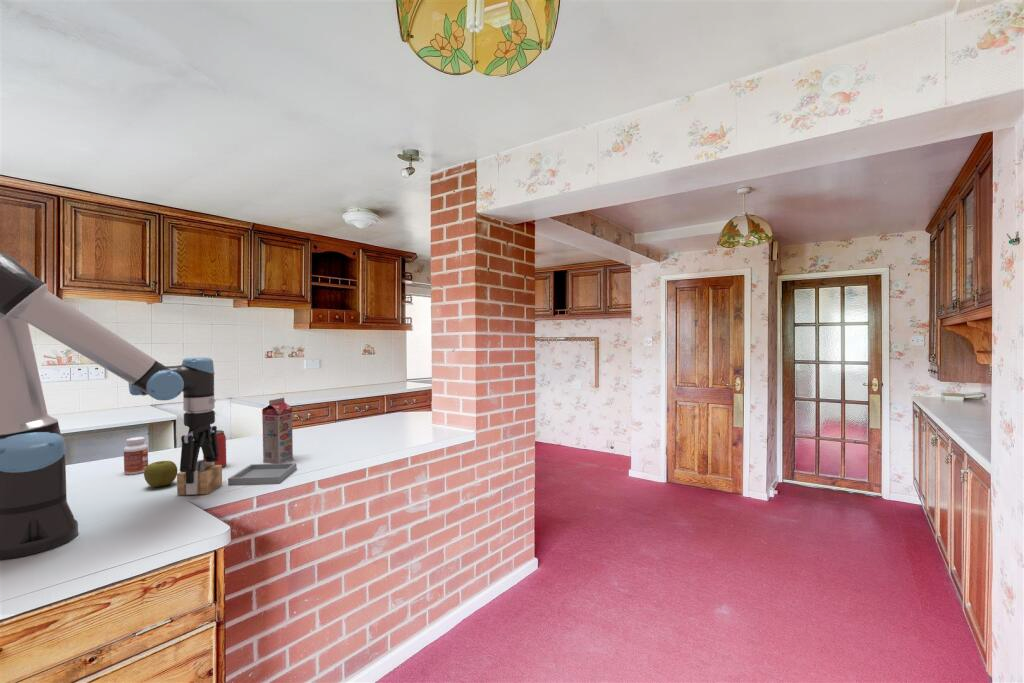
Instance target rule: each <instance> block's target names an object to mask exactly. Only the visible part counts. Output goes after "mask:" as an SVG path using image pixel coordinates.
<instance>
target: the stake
mask: <svg viewBox="0 0 1024 683" xmlns="http://www.w3.org/2000/svg"><path fill="white" fill-rule="evenodd" d="M205 470H206V465H205V460H203V459H200V460H199V459H198V460H197V464H196V471H205Z"/></svg>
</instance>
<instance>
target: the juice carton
mask: <svg viewBox="0 0 1024 683" xmlns="http://www.w3.org/2000/svg"><path fill="white" fill-rule="evenodd" d="M285 401H286V400H285V397H280V398H275V399H269V401H268V402H269V404H268V405H267V406H266V407H264V408H263V409H261V413H262V414H261V416H262V417H261V418H262V419H261V421H262V462H263V463H262V464H282V463H286V462H288V461H292V460H293V457H294V451H293V449H294V448H293V446H294V445H293V408H292V406H291V405H289V404H288V403H286V402H285Z"/></svg>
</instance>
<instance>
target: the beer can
mask: <svg viewBox="0 0 1024 683" xmlns="http://www.w3.org/2000/svg"><path fill="white" fill-rule="evenodd" d="M216 435H217V444H218V452H219V456H218V457H216V458H218V461H214V465H222V468H224V467H226V466H227V437H226V434H225V431H224V430H220V429H219V430H217V431H216ZM202 455H203V454H202ZM202 458H203V459H202V460H205V458H204V455H203V456H202ZM205 462H207V461H205Z"/></svg>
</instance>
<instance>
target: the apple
mask: <svg viewBox="0 0 1024 683" xmlns="http://www.w3.org/2000/svg"><path fill="white" fill-rule="evenodd" d="M177 473H178V466H177V464H176V463H175V462H173V461H172V460H158V461H155V462H154V461H153V462H152V463H150V464H149V463H148V466H147V467H146V469H145V471H144V472H143V477H144V480H145V482H146V483H147V485H148V486H150V487H151V488H157V487H163V486H169V485H171V484H172V483H174V481H175V480H176V479H177Z"/></svg>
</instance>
